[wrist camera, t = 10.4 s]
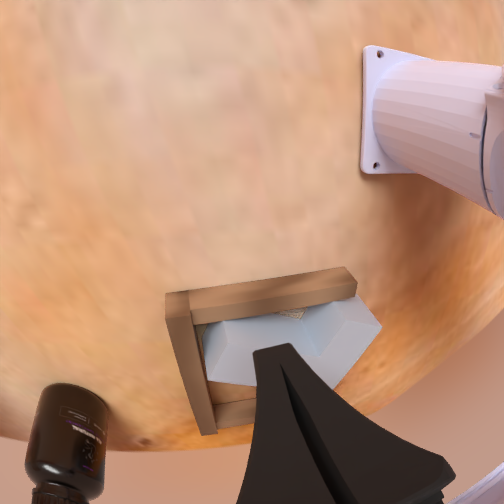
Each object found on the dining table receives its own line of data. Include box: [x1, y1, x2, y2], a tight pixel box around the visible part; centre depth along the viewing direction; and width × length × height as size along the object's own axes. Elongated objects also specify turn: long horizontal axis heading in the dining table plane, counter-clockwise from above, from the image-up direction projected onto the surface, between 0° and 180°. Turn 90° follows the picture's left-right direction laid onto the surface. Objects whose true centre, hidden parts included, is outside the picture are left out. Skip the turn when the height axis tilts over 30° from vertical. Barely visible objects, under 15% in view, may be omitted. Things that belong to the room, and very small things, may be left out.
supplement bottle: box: [25, 383, 108, 504], centre depth 18 cm, size 7×7×12 cm
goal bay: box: [165, 267, 358, 436], centre depth 23 cm, size 12×14×2 cm
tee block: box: [202, 294, 382, 390], centre depth 22 cm, size 10×10×4 cm
